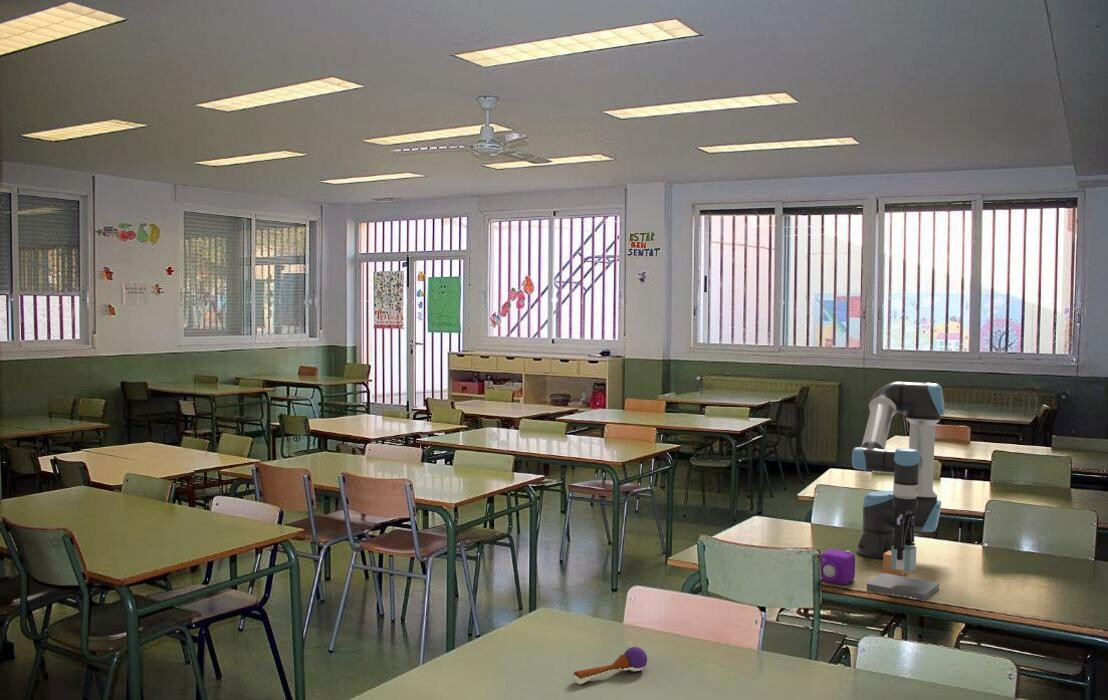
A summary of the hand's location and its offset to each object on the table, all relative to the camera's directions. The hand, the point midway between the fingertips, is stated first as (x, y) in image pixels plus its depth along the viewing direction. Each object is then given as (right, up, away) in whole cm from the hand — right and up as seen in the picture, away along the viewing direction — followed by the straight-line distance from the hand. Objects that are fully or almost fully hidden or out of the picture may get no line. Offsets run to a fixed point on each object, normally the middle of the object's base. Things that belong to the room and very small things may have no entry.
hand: (903, 567), depth 290 cm
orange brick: (+4, -7, +19) cm, 20 cm away
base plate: (0, -7, 0) cm, 7 cm away
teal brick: (0, 0, 0) cm, 0 cm away
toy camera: (-19, -7, +8) cm, 22 cm away
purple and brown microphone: (-100, -9, -72) cm, 123 cm away
